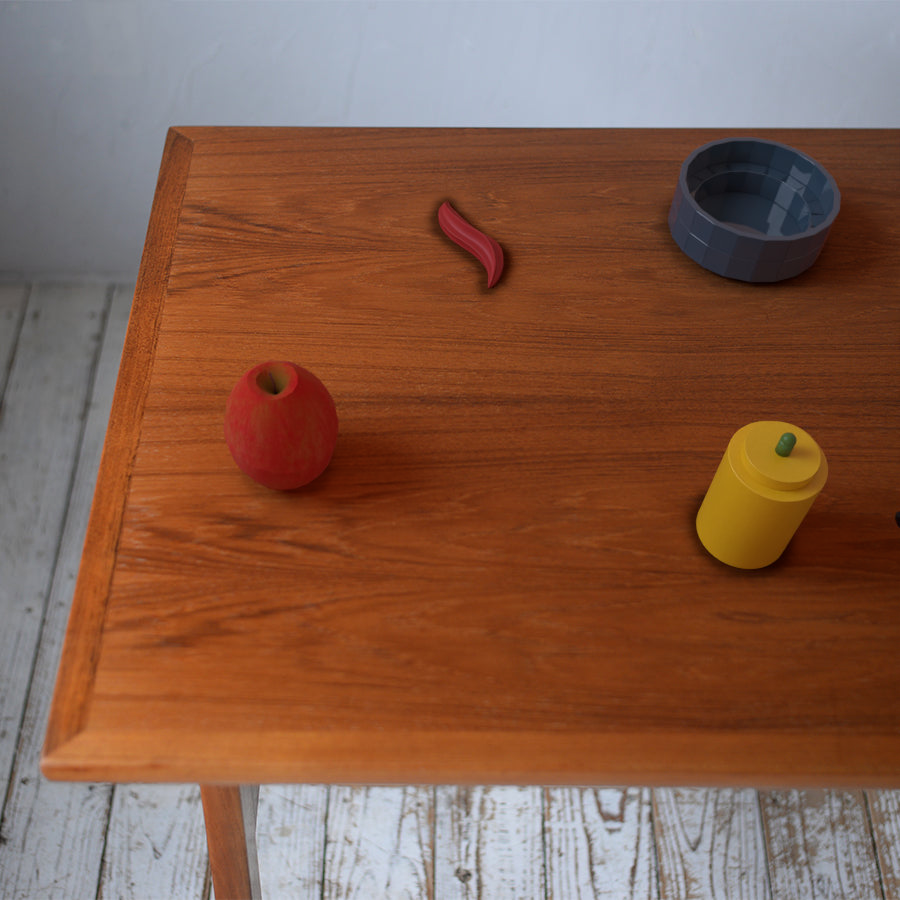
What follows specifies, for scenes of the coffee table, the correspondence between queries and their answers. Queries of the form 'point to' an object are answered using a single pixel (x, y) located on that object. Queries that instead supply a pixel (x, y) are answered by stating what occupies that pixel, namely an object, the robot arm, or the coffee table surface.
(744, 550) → the pepper
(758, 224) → the bowl
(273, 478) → the apple
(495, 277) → the cayenne pepper
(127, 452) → the coffee table surface
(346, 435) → the coffee table surface
